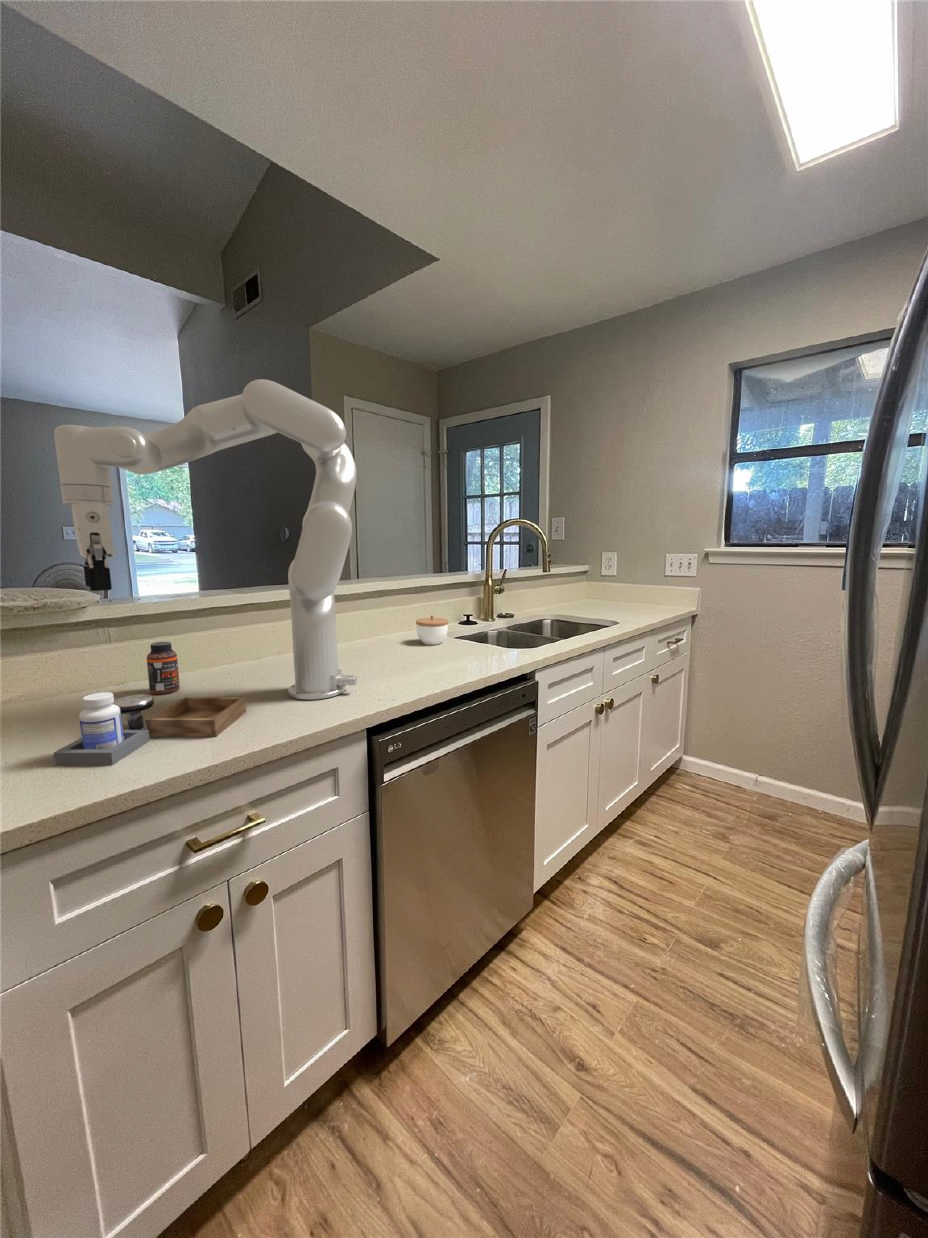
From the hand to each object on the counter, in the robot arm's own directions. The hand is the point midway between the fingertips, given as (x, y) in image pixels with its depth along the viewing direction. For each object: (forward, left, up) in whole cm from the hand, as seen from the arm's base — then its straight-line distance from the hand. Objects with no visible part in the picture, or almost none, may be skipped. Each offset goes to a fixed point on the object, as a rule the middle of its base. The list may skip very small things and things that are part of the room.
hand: (98, 588), depth 93 cm
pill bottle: (-11, +18, -26) cm, 33 cm away
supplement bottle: (-2, -14, -26) cm, 29 cm away
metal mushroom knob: (-10, +8, -25) cm, 28 cm away
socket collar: (-11, +18, -25) cm, 33 cm away
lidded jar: (-60, -66, -26) cm, 93 cm away
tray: (-20, +5, -25) cm, 33 cm away
